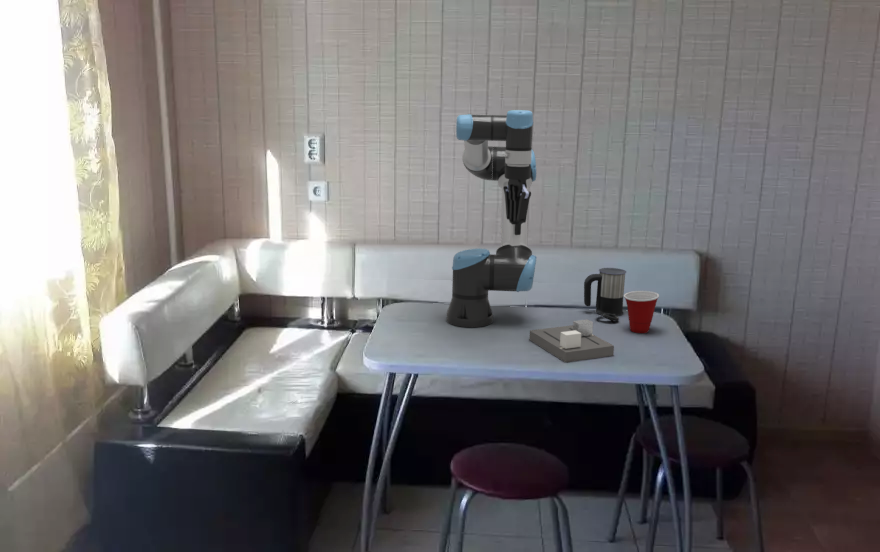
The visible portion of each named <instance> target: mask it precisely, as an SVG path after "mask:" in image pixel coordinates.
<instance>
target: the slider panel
mask: <svg viewBox="0 0 880 552" xmlns="http://www.w3.org/2000/svg"><path fill="white" fill-rule="evenodd" d="M566 331H573V324H572V325H565V326H555V327H548V328H540V329H539V328H538V329H532V330H529V337H528V338H529V341H531V342H532V343H534V344H535V345H537V346H538V347H540V348H541V349H543V350H545V351H547V353H549V354H551V355H553V356H554V357H556V358H558V359H559V360H560V361H563V362H564V363H571V362H572V363H573V362H579V361H585V360H592V359H599V358H607V357H612V356H614V351H615V346H614V345H613V344H612V343H609V342H608V341H606V340H604V339H602V338H601V337H599V336H597V335H595V334H592V335H589V336H581V347H575V348H567V349H565V348H563V347H562V346H560V335H561V332H566ZM578 360H579V361H578Z"/></svg>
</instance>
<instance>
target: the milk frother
mask: <svg viewBox="0 0 880 552" xmlns="http://www.w3.org/2000/svg"><path fill="white" fill-rule="evenodd" d="M598 272H599V273H592V274H589V275H588V276H587V277H586V278H585V279H584V283H583V304H584V305H585V306H586V307H590V306H591V304H592V284H593V283H594V282H595V281H596V282H597V286H596V288H597V289H596V297H595V298H596V300H595V307H596V309H595V313H596V314H598V315H600V316H603V318H606V319H607V320H609V321H610V322H612V323H614V321H616V322H617V321H619V320H620V319H619V318H620V317H619V316H622V315H623V314H624V312H623V310H624V309H623V307H624V294H625V283H626V274H627V270H625V269H621V268H617V267H602V268H598Z"/></svg>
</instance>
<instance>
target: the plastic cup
mask: <svg viewBox="0 0 880 552" xmlns="http://www.w3.org/2000/svg"><path fill="white" fill-rule="evenodd" d="M659 297H660V294H659V293H658V292H654V291H651V290H650V291H649V290H632V291H629V292H626V293H624V295H623V299H625V302H626V305H627V316H628V317H627V318H628V321H629V322H628V323H629V329H630V331H631V332H632V333H636V334H646V333H648V332H650V328H651V323H652V321H653V317H654V313H655V309H656V306H657V302H658V299H659Z"/></svg>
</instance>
